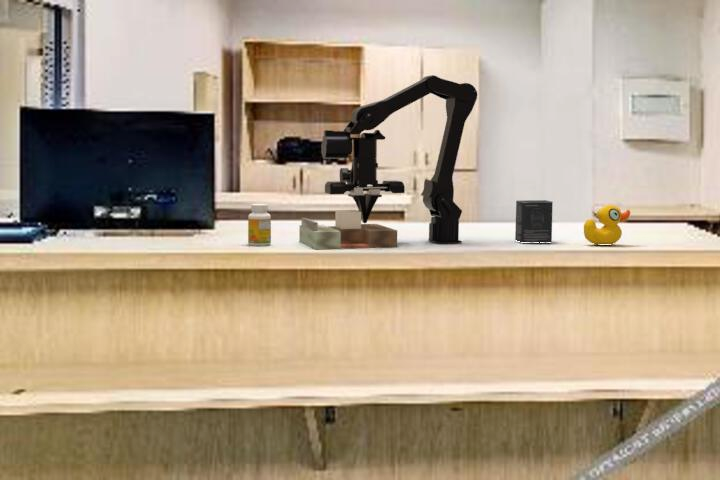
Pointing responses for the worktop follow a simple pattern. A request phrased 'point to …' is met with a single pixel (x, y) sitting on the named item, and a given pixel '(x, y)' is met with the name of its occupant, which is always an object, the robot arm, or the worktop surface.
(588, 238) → the duckling
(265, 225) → the supplement bottle
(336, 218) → the cream block
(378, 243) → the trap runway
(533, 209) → the box
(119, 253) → the worktop surface
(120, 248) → the worktop surface
